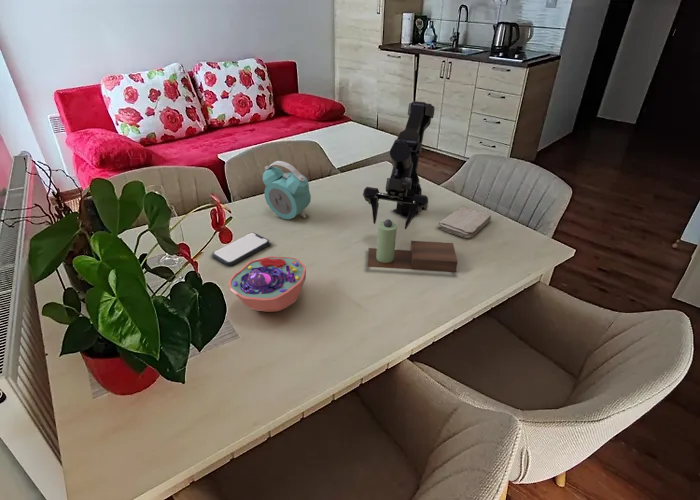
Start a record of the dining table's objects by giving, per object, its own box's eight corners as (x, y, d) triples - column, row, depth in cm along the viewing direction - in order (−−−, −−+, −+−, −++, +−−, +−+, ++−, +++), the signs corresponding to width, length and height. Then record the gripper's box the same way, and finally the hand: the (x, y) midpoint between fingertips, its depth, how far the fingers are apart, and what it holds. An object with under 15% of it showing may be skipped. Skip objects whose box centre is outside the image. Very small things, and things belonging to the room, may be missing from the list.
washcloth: (436, 229, 145) (437, 221, 144) (459, 210, 158) (461, 203, 156) (469, 241, 140) (470, 233, 138) (490, 220, 152) (492, 213, 150)
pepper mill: (385, 251, 130) (388, 213, 124) (397, 258, 127) (401, 220, 120) (372, 257, 128) (375, 219, 121) (385, 265, 124) (388, 226, 117)
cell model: (322, 299, 113) (322, 263, 107) (258, 337, 101) (254, 299, 95) (282, 271, 123) (279, 237, 117) (219, 303, 110) (213, 266, 104)
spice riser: (368, 252, 133) (369, 238, 130) (450, 256, 132) (453, 242, 129) (367, 270, 124) (368, 256, 122) (455, 276, 123) (457, 261, 120)
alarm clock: (316, 216, 151) (315, 162, 140) (299, 227, 144) (297, 171, 133) (278, 203, 158) (274, 151, 147) (260, 213, 151) (255, 159, 141)
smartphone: (230, 268, 124) (271, 244, 134) (229, 263, 123) (270, 240, 133) (210, 257, 128) (252, 235, 139) (209, 252, 127) (251, 231, 138)
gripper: (366, 160, 123) (353, 212, 120) (432, 169, 118) (421, 223, 115) (371, 176, 133) (360, 224, 130) (432, 185, 129) (422, 234, 126)
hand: (389, 226), depth 125 cm, fingers open, 9 cm apart
